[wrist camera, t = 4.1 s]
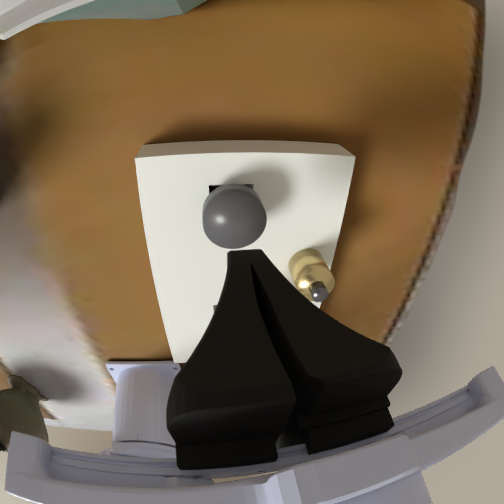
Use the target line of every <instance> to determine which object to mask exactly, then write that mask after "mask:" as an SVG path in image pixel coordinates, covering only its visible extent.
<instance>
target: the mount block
mask: <svg viewBox="0 0 504 504" xmlns="http://www.w3.org/2000/svg"><path fill="white" fill-rule="evenodd" d="M354 162H355V156H354V155H353V154H351V153H350V152H349V151H347V150H346V149H344V148H343V147H342V146H340V145H339V144H332V143H318V142H301V141H274V140H218V141H191V142H174V143H160V144H148V145H143V146H142V148H141V149H140V151H139V152H138V154H137V156H136V157H135V163H136V172H137V180H138V188H139V196H140V203H141V210H142V217H143V223H144V229H145V235H146V241H147V247H148V252H149V258H150V263H151V268H152V273H153V278H154V283H155V287H156V292H157V297H158V301H159V305H160V310H161V314H162V318H163V322H164V326H165V330H166V334H167V338H168V342H169V346H170V349H171V353H172V357H173V360H174V363H186V362H187V360H188V359H189V357H190V356H191V354H192V353H193V351H194V350H195V348H196V346H197V345H198V343H199V342H200V340H201V338H202V336H203V335H204V333H205V331H206V329H207V327H208V325H209V323H210V321H211V319H212V316H213V314H214V312H215V309H216V307H217V304H218V301H219V298H220V295H221V292H222V289H223V286H224V281H225V277H226V273H227V253H228V252H229V251H232V250H249V249H261V250H262V251H263V252H264V253H265V254H266V255H267V257H268V258H269V259H270V260H271V262H272V263H273V264H274V265H275V266H276V267H277V269H278V270H279V271H280V272H281V273H282V274H283V275H284V276H285V277H286V279H287V280H288V281H289V282H290V283H291V284H292V285H293V286H294V287H295V284H294V282H293V279H292V277H291V274H290V272H289V269H288V263H289V260H290V258H291V257H292V256H293V255H294V254H295V253H296V252H298V251H300V250H303V249H307V248H312V249H315V250H317V251H319V252H320V253H321V255H322V257H323V259H324V261H325V262H326V264H327V266H328V268H329V270H330V269H331V265H332V261H333V257H334V253H335V249H336V245H337V241H338V237H339V233H340V229H341V224H342V220H343V216H344V211H345V207H346V202H347V197H348V193H349V188H350V183H351V178H352V173H353V168H354ZM226 184H246V186H248V187H250V188H251V189H253V190H254V191H255V192H256V193H257V194H258V196H259V197H260V200H261V202H262V204H263V207H264V209H265V212H266V216H267V223H266V227H265V230H264V232H263V233H262V235H261V236H260V237H259V238H258V239H257V240H256V241H255V242H254V243H252V244H250V245H248V246H246V247H243V248H239V249H226V248H222V247H219V246H217V245H215V244H214V243H212V242H211V241H210V240H209V239H208V237H207V236H206V234H205V232H204V229H203V219H202V208H203V204H204V202H205V200H206V198H207V196H208V195H209V185H226ZM295 288H296V287H295ZM310 302H312V303H313V304H314V305H316V306H317V307H318V308H319V309H320V305H321V302H315V301H310Z"/></svg>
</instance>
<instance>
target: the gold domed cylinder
mask: <svg viewBox="0 0 504 504" xmlns="http://www.w3.org/2000/svg"><path fill="white" fill-rule="evenodd" d="M288 269H289V272H290V274H291V277H292V279H293V282H294V284H295V287H296V289H297V290H298V291H299V292H300V293H302V294H303V295H304V296H305V297H306V298H307V299H308V300H309V301H315V302H322V301H324V300H326V299H327V298H328V296H329V293H330V292H331V291H332V290H333V288H334V285H335V279H334V277H333V275H332V273H331V272H330V270H329V268H328V266H327V264H326V262H325V261H324V259H323V257H322V255H321V253H320V252H319V251H317V250H315V249H312V248H307V249H303V250H300V251H298V252H296V253H295V254H294V255H293V256H292V257H291V258H290V260H289V263H288Z"/></svg>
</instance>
